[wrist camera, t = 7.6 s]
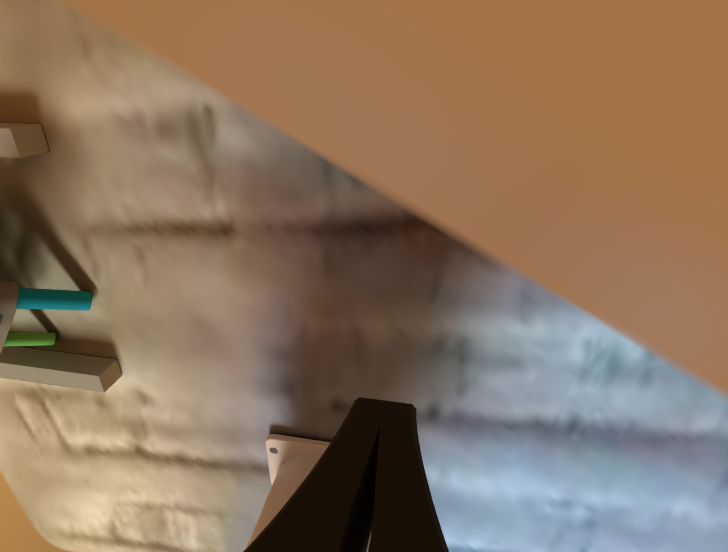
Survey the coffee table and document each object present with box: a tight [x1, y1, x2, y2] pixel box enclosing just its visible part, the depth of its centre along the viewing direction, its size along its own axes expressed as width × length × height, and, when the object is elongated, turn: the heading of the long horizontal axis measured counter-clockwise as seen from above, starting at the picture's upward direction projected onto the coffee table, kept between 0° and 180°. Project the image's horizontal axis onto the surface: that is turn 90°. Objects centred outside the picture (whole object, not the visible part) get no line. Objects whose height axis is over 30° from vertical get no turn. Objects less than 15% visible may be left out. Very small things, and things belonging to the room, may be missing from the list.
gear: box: [0, 281, 92, 354], centre depth 21 cm, size 11×6×10 cm
